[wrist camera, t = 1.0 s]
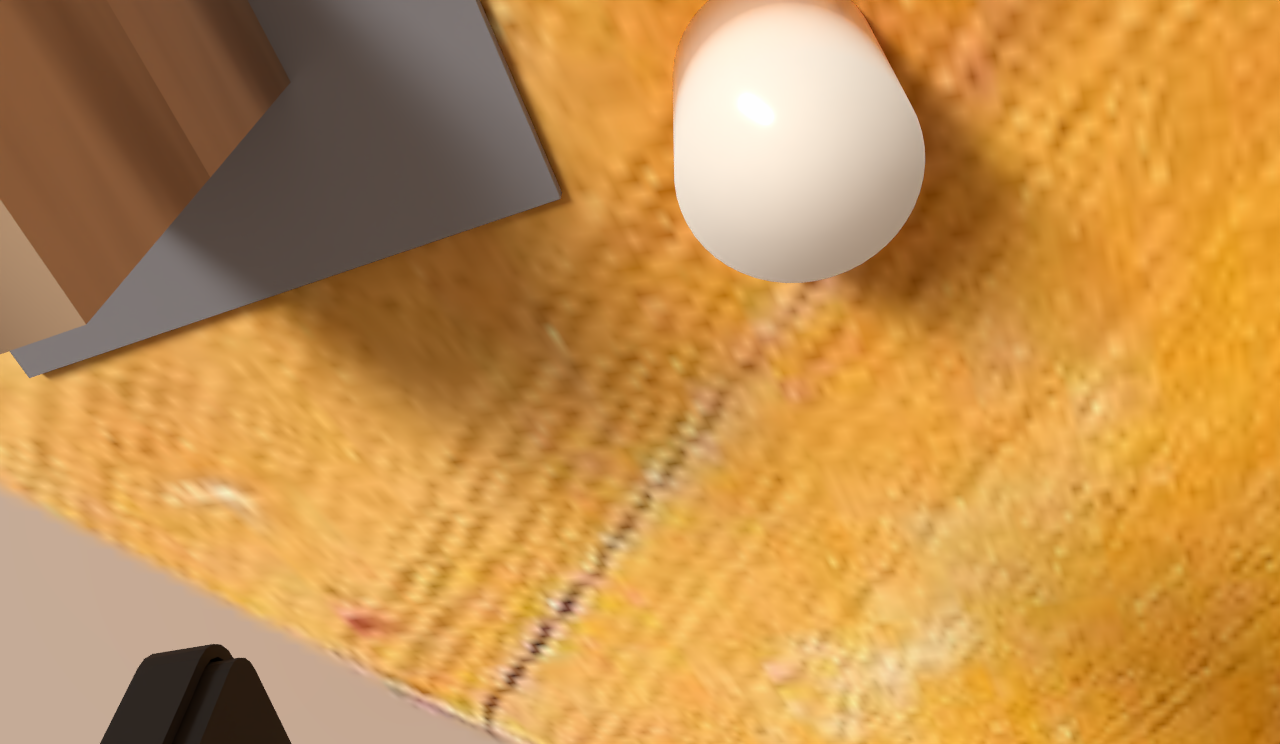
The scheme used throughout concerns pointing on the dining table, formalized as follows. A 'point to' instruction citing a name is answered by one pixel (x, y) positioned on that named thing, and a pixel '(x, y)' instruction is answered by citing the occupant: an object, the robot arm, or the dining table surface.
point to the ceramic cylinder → (791, 138)
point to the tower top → (79, 164)
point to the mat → (336, 167)
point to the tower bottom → (206, 67)
